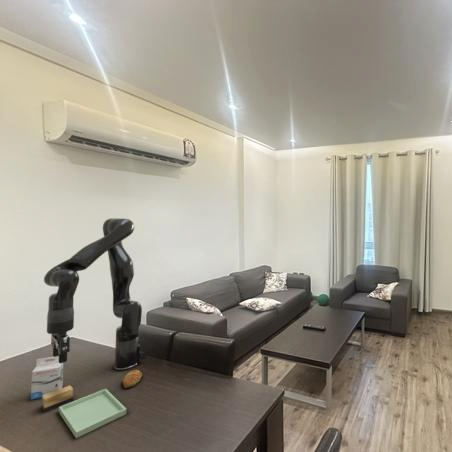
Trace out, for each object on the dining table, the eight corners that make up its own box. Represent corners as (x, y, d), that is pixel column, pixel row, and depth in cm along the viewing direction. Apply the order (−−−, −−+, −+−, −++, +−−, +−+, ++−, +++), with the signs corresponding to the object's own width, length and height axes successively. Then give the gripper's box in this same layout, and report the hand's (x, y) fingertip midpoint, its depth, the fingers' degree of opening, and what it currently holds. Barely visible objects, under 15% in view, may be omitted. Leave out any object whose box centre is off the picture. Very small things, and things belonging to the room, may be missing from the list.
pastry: (137, 386, 120) (138, 378, 120) (119, 390, 117) (119, 381, 117) (142, 375, 128) (142, 367, 128) (125, 378, 125) (125, 370, 125)
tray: (105, 393, 115) (105, 388, 115) (126, 413, 103) (126, 408, 103) (58, 412, 103) (58, 407, 103) (75, 438, 91) (76, 432, 91)
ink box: (30, 400, 108) (31, 364, 108) (34, 393, 113) (35, 359, 112) (59, 393, 113) (60, 359, 113) (63, 387, 117) (63, 354, 117)
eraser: (69, 397, 111) (70, 385, 111) (72, 400, 109) (73, 388, 109) (41, 407, 105) (42, 395, 105) (44, 412, 102) (44, 399, 102)
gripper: (79, 320, 106) (77, 360, 106) (68, 312, 114) (67, 350, 114) (52, 326, 100) (50, 369, 100) (42, 317, 108) (41, 357, 108)
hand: (59, 359), depth 107 cm, fingers open, 8 cm apart
